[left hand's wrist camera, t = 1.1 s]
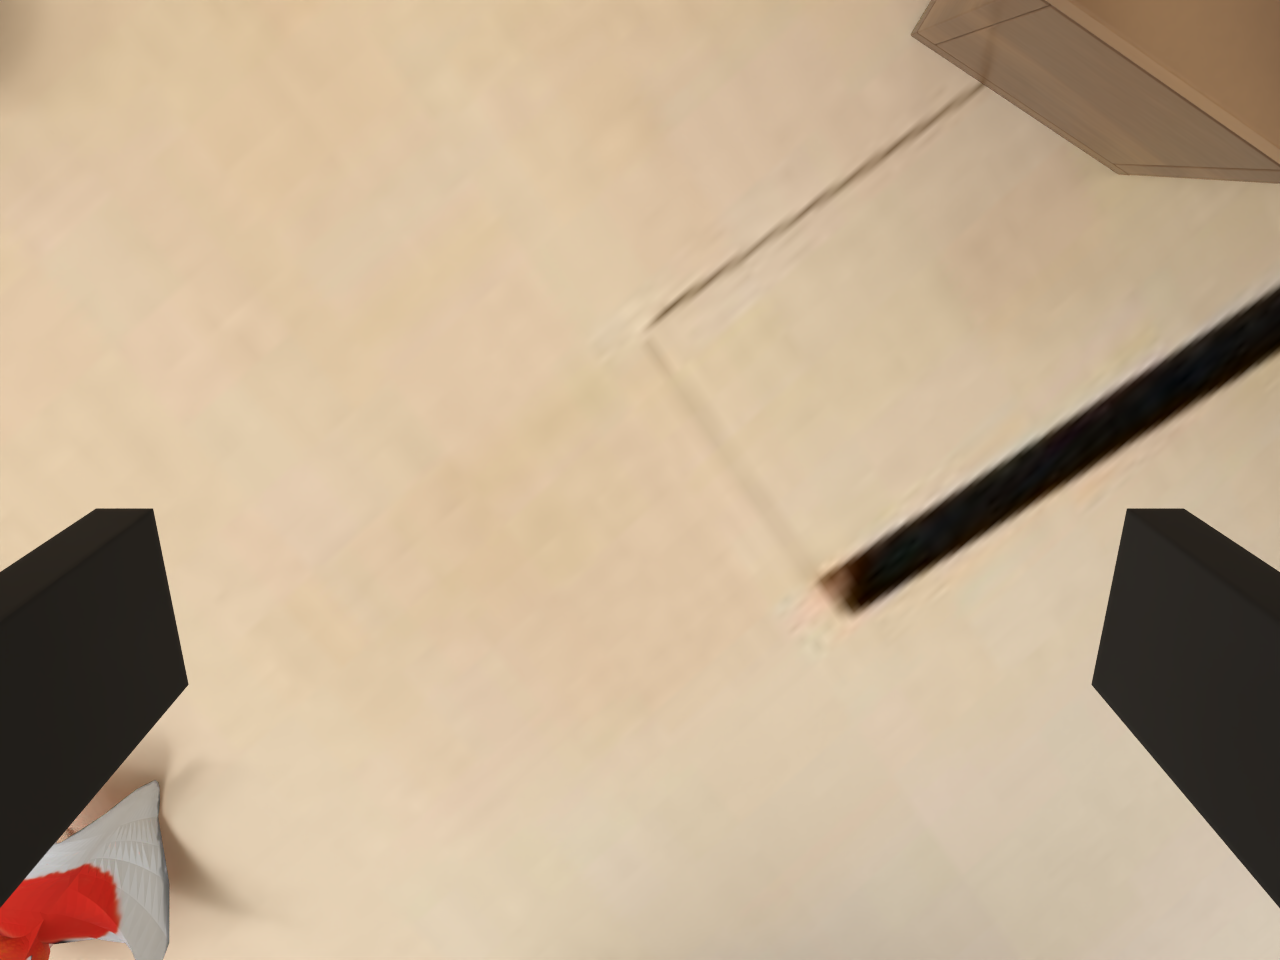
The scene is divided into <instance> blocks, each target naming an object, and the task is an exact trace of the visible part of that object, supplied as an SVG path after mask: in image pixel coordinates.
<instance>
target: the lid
mask: <svg viewBox="0 0 1280 960" xmlns="http://www.w3.org/2000/svg"><path fill="white" fill-rule="evenodd" d="M1045 1H1047V2H1048V3H1050V4H1051V5H1052V6H1054V7H1055V8H1057V9H1058V10H1060V11H1061V12H1062V13H1064V14H1065V15H1067V16H1068V17H1070V18H1071V19H1072V20H1074V21H1075V22H1077V23H1078V24H1080V25H1081V26H1083V27H1084V28H1085V29H1087V30H1088V31H1090V32H1091V33H1093V34H1094V35H1095V36H1097V37H1098V38H1100V39H1101V40H1103V41H1104V42H1105V43H1107V44H1108V45H1110V46H1111V47H1113V48H1114V49H1115V50H1117V51H1118V52H1120V53H1121V54H1123V55H1124V56H1125V57H1127V58H1128V59H1130V60H1131V61H1133V62H1134V63H1135V64H1137V65H1138V66H1140V67H1141V68H1143V69H1144V70H1146V71H1147V72H1148V73H1150V74H1151V75H1153V76H1154V77H1156V78H1157V79H1158V80H1160V81H1161V82H1163V83H1164V84H1166V85H1167V86H1168V87H1170V88H1171V89H1173V90H1174V91H1176V92H1177V93H1178V94H1180V95H1181V96H1183V97H1184V98H1186V99H1187V100H1188V101H1190V102H1191V103H1193V104H1194V105H1196V106H1197V107H1198V108H1200V109H1201V110H1203V111H1204V112H1206V113H1207V114H1209V115H1210V116H1211V117H1213V118H1214V119H1216V120H1217V121H1219V122H1220V123H1221V124H1223V125H1224V126H1226V127H1227V128H1229V129H1230V130H1231V131H1233V132H1234V133H1236V134H1237V135H1239V136H1240V137H1241V138H1243V139H1244V140H1246V141H1247V142H1249V143H1250V144H1251V145H1253V146H1254V147H1256V148H1257V149H1259V150H1260V151H1261V152H1263V153H1264V154H1266V155H1267V156H1269V157H1270V158H1272V159H1273V160H1274V161H1276V162H1277V163H1279V164H1280V0H1045Z"/></svg>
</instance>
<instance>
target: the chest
mask: <svg viewBox="0 0 1280 960" xmlns="http://www.w3.org/2000/svg"><path fill="white" fill-rule="evenodd" d="M911 36H912V37H914V38H915V39H917V40H918V41H920V42H921V43H923V44H924V45H926V46H927V47H929V48H930V49H932V50H933V51H935V52H936V53H938V54H939V55H941V56H942V57H944V58H945V59H947V60H948V61H950V62H951V63H953V64H954V65H956V66H957V67H959V68H960V69H962V70H963V71H965V72H966V73H968V74H969V75H971V76H972V77H974V78H975V79H977V80H978V81H980V82H981V83H983V84H984V85H986V86H987V87H989V88H990V89H992V90H993V91H995V92H996V93H998V94H999V95H1001V96H1002V97H1004V98H1005V99H1007V100H1008V101H1010V102H1011V103H1013V104H1014V105H1016V106H1017V107H1019V108H1020V109H1022V110H1023V111H1025V112H1026V113H1028V114H1029V115H1031V116H1032V117H1034V118H1035V119H1037V120H1038V121H1040V122H1041V123H1043V124H1044V125H1046V126H1047V127H1049V128H1050V129H1052V130H1053V131H1054V132H1056V133H1057V134H1059V135H1060V136H1062V137H1063V138H1065V139H1066V140H1068V141H1069V142H1071V143H1072V144H1074V145H1075V146H1077V147H1078V148H1080V149H1081V150H1083V151H1084V152H1086V153H1087V154H1089V155H1090V156H1092V157H1093V158H1095V159H1096V160H1098V161H1099V162H1101V163H1102V164H1104V165H1105V166H1107V167H1108V168H1110V169H1111V170H1113V171H1114V172H1116V173H1117V174H1119V175H1142V176H1159V177H1176V178H1194V179H1211V180H1228V181H1245V182H1262V183H1279V184H1280V164H1279V163H1277V162H1276V161H1274V160H1273V159H1272V158H1270V157H1269V156H1267V155H1266V154H1264V153H1263V152H1261V151H1260V150H1259V149H1257V148H1256V147H1254V146H1253V145H1251V144H1250V143H1249V142H1247V141H1246V140H1244V139H1243V138H1241V137H1240V136H1239V135H1237V134H1236V133H1234V132H1233V131H1231V130H1230V129H1229V128H1227V127H1226V126H1224V125H1223V124H1221V123H1220V122H1219V121H1217V120H1216V119H1214V118H1213V117H1211V116H1210V115H1209V114H1207V113H1206V112H1204V111H1203V110H1201V109H1200V108H1198V107H1197V106H1196V105H1194V104H1193V103H1191V102H1190V101H1188V100H1187V99H1186V98H1184V97H1183V96H1181V95H1180V94H1178V93H1177V92H1176V91H1174V90H1173V89H1171V88H1170V87H1168V86H1167V85H1166V84H1164V83H1163V82H1161V81H1160V80H1158V79H1157V78H1156V77H1154V76H1153V75H1151V74H1150V73H1148V72H1147V71H1146V70H1144V69H1143V68H1141V67H1140V66H1138V65H1137V64H1135V63H1134V62H1133V61H1131V60H1130V59H1128V58H1127V57H1125V56H1124V55H1123V54H1121V53H1120V52H1118V51H1117V50H1115V49H1114V48H1113V47H1111V46H1110V45H1108V44H1107V43H1105V42H1104V41H1103V40H1101V39H1100V38H1098V37H1097V36H1095V35H1094V34H1093V33H1091V32H1090V31H1088V30H1087V29H1085V28H1084V27H1083V26H1081V25H1080V24H1078V23H1077V22H1075V21H1074V20H1072V19H1071V18H1070V17H1068V16H1067V15H1065V14H1064V13H1062V12H1061V11H1060V10H1058V9H1057V8H1055V7H1054V6H1052V5H1051V4H1050V3H1048V2H1047V1H1045V0H931V2H930V4H929V5H928V7H927V9H926V10H925V12H924V13H923V15H922V17H921V18H920V20H919V22H918V23H917V25H916V27H915V28H914V30H913V32H912V33H911Z"/></svg>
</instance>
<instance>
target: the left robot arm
mask: <svg viewBox="0 0 1280 960" xmlns="http://www.w3.org/2000/svg"><path fill="white" fill-rule="evenodd" d="M187 686H188V680H187V675H186V670H185V665H184V660H183V655H182V650H181V645H180V640H179V635H178V631H177V626H176V621H175V616H174V611H173V606H172V601H171V596H170V591H169V586H168V581H167V576H166V571H165V566H164V561H163V556H162V551H161V546H160V541H159V536H158V531H157V526H156V521H155V516H154V511H153V509H95V510H93V511H92V512H90V513H89V514H87V515H86V516H84V517H83V518H81V519H80V520H78V521H77V522H75V523H74V524H72V525H71V526H69V527H68V528H66V529H65V530H63V531H62V532H60V533H59V534H57V535H56V536H54V537H53V538H51V539H50V540H48V541H47V542H45V543H44V544H42V545H40V546H39V547H37V548H36V549H34V550H33V551H31V552H30V553H28V554H27V555H25V556H24V557H22V558H21V559H19V560H18V561H16V562H15V563H13V564H12V565H10V566H9V567H7V568H6V569H4V570H3V571H1V572H0V908H1V906H2V905H3V904H4V903H5V902H6V901H7V899H8V898H9V897H10V896H11V895H12V893H13V892H14V891H15V890H16V889H17V887H18V886H19V885H20V884H21V883H22V882H23V880H24V879H25V878H26V877H27V876H28V874H29V873H30V872H31V871H32V870H33V868H34V867H35V866H36V865H37V864H38V863H39V861H40V860H41V859H42V858H43V857H44V855H45V854H46V853H47V852H48V851H49V850H50V848H51V847H52V846H53V845H54V844H55V842H56V841H57V840H58V839H59V838H60V836H61V835H62V834H63V833H64V832H65V831H66V829H67V828H68V827H69V826H70V825H71V823H72V822H73V821H74V820H75V819H76V817H77V816H78V815H79V814H80V813H81V812H82V810H83V809H84V808H85V807H86V806H87V804H88V803H89V802H90V801H91V800H92V798H93V797H94V796H95V795H96V794H97V793H98V791H99V790H100V789H101V788H102V787H103V785H104V784H105V783H106V782H107V781H108V779H109V778H110V777H111V776H112V775H113V774H114V772H115V771H116V770H117V769H118V768H119V766H120V765H121V764H122V763H123V762H124V760H125V759H126V758H127V757H128V756H129V755H130V753H131V752H132V751H133V750H134V749H135V747H136V746H137V745H138V744H139V743H140V741H141V740H142V739H143V738H144V737H145V736H146V734H147V733H148V732H149V731H150V730H151V728H152V727H153V726H154V725H155V724H156V722H157V721H158V720H159V719H160V718H161V717H162V715H163V714H164V713H165V712H166V711H167V709H168V708H169V707H170V706H171V705H172V703H173V702H174V701H175V700H176V699H177V698H178V696H179V695H180V694H181V693H182V692H183V690H184V689H185V688H186V687H187ZM1092 686H1093V687H1094V688H1095V689H1096V690H1097V692H1098V693H1099V694H1100V695H1101V696H1102V698H1103V699H1104V700H1105V701H1106V702H1107V703H1108V705H1109V706H1110V707H1111V708H1112V709H1113V711H1114V712H1115V713H1116V714H1117V715H1118V717H1119V718H1120V719H1121V720H1122V721H1123V722H1124V724H1125V725H1126V726H1127V727H1128V728H1129V730H1130V731H1131V732H1132V733H1133V734H1134V736H1135V737H1136V738H1137V739H1138V740H1139V741H1140V743H1141V744H1142V745H1143V746H1144V747H1145V749H1146V750H1147V751H1148V752H1149V753H1150V755H1151V756H1152V757H1153V758H1154V759H1155V760H1156V762H1157V763H1158V764H1159V765H1160V766H1161V768H1162V769H1163V770H1164V771H1165V772H1166V774H1167V775H1168V776H1169V777H1170V778H1171V779H1172V781H1173V782H1174V783H1175V784H1176V785H1177V787H1178V788H1179V789H1180V790H1181V791H1182V793H1183V794H1184V795H1185V796H1186V797H1187V798H1188V800H1189V801H1190V802H1191V803H1192V804H1193V806H1194V807H1195V808H1196V809H1197V810H1198V812H1199V813H1200V814H1201V815H1202V816H1203V817H1204V819H1205V820H1206V821H1207V822H1208V823H1209V825H1210V826H1211V827H1212V828H1213V829H1214V831H1215V832H1216V833H1217V834H1218V835H1219V836H1220V838H1221V839H1222V840H1223V841H1224V842H1225V844H1226V845H1227V846H1228V847H1229V848H1230V850H1231V851H1232V852H1233V853H1234V854H1235V855H1236V857H1237V858H1238V859H1239V860H1240V861H1241V863H1242V864H1243V865H1244V866H1245V867H1246V869H1247V870H1248V871H1249V872H1250V873H1251V874H1252V876H1253V877H1254V878H1255V879H1256V880H1257V882H1258V883H1259V884H1260V885H1261V886H1262V887H1263V889H1264V890H1265V891H1266V892H1267V893H1268V895H1269V896H1270V897H1271V898H1272V899H1273V901H1274V902H1275V903H1276V904H1277V905H1278V906H1279V908H1280V572H1279V571H1277V570H1276V569H1274V568H1273V567H1271V566H1270V565H1268V564H1267V563H1265V562H1264V561H1262V560H1261V559H1259V558H1258V557H1256V556H1255V555H1253V554H1252V553H1250V552H1249V551H1247V550H1246V549H1244V548H1243V547H1241V546H1240V545H1238V544H1236V543H1235V542H1233V541H1232V540H1230V539H1229V538H1227V537H1226V536H1224V535H1223V534H1221V533H1220V532H1218V531H1217V530H1215V529H1214V528H1212V527H1211V526H1209V525H1208V524H1206V523H1205V522H1203V521H1202V520H1200V519H1199V518H1197V517H1196V516H1194V515H1193V514H1191V513H1190V512H1188V511H1187V510H1185V509H1127V511H1126V516H1125V521H1124V526H1123V531H1122V536H1121V541H1120V546H1119V551H1118V556H1117V561H1116V566H1115V571H1114V576H1113V581H1112V586H1111V591H1110V596H1109V601H1108V606H1107V611H1106V616H1105V621H1104V626H1103V631H1102V635H1101V640H1100V645H1099V650H1098V655H1097V660H1096V665H1095V670H1094V675H1093V680H1092Z"/></svg>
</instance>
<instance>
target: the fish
mask: <svg viewBox="0 0 1280 960" xmlns="http://www.w3.org/2000/svg"><path fill="white" fill-rule="evenodd" d="M159 804H160V787H159V783H158V782H157V781H156V780H154V781H152V782H150V783H148V784H146V785H144V786H142V787H140V788H138V789H136V790H135V791H134V792H132V793H131V794H130V795H128V796H127V797H126V798H124V799H123V800H122V801H121V802H119V803H118V804H117V805H116V806H114V807H113V808H112V809H111V810H109V811H108V812H107V813H106V814H104V815H103V816H101V817H100V818H98V819H97V820H95V821H94V822H92V823H91V824H89V825H88V826H86V827H85V828H83V829H81V830H80V831H78V832H77V833H75V834H73V835H72V836H70V837H69V838H67V839H66V840H64V841H62V842H61V843H57V841H56V842H55V844H54V845H53V846H52V847H51V848H50V850H49V851H48V852H47V853H46V854H45V855H44V857H43V858H42V859H41V860H40V861H39V863H38V864H37V865H36V866H35V867H34V868H33V870H32V871H31V872H30V873H29V874H28V876H27V877H26V878H25V879H24V880H23V882H22V883H21V884H20V885H19V886H18V887H17V889H16V890H15V891H14V892H13V893H12V895H11V896H10V897H9V898H8V899H7V901H6V902H5V903H4V904H3V905H2V906H1V908H0V960H48V959H49V954H50V948H51V946H52V945H53V944H59V943H67V942H75V941H82V940H90V939H100V940H106V941H112V942H122V943H126V945H127V946H128V947H129V949H130V950H131V951H132V953H133V955H134V958H135V960H163V958H164V956H165V953H166V950H167V947H168V945H169V879H168V873H167V867H166V861H165V855H164V849H163V843H162V837H161V831H160V825H159V819H158V814H159Z"/></svg>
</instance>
